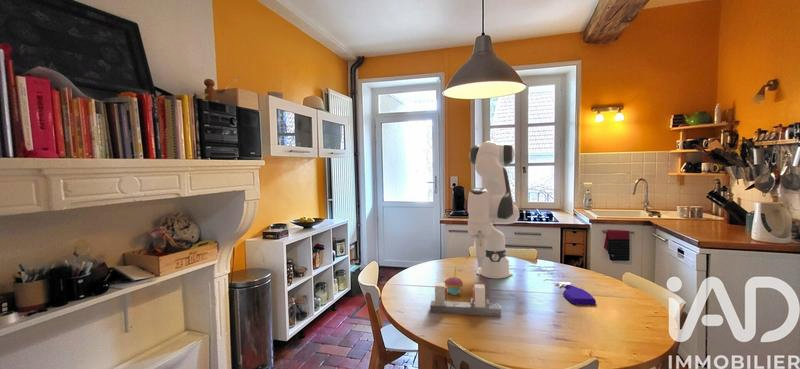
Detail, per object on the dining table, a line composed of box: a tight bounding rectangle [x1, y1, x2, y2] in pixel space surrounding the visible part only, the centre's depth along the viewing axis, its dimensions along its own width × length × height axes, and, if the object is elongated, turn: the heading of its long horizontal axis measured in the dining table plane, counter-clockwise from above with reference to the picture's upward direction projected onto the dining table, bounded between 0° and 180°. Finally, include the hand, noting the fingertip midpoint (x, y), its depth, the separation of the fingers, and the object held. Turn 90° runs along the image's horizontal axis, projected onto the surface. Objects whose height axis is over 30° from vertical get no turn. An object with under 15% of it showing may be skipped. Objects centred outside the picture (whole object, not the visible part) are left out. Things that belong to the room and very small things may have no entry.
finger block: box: [472, 283, 486, 308], centre depth 137 cm, size 4×5×8 cm
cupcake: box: [444, 266, 464, 296], centre depth 159 cm, size 9×8×12 cm
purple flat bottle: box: [554, 281, 597, 306], centre depth 155 cm, size 3×11×24 cm
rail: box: [429, 282, 502, 317], centre depth 138 cm, size 5×28×11 cm, turn 79°
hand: (479, 262), depth 137 cm, fingers open, 8 cm apart
